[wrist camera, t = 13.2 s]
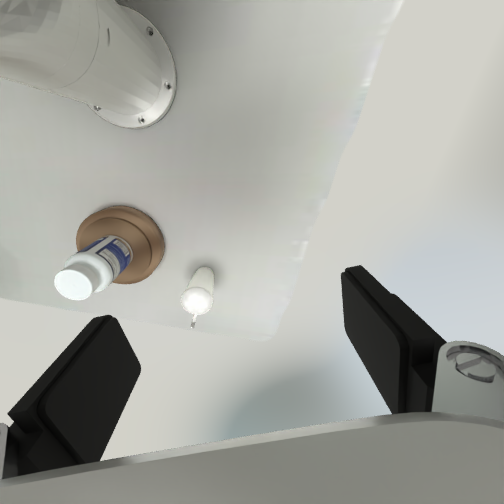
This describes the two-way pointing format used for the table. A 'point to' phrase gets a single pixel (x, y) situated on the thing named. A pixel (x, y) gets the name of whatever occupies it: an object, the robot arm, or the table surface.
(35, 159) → the table surface
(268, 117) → the table surface
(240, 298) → the table surface
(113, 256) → the pill bottle
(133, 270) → the walnut stand
